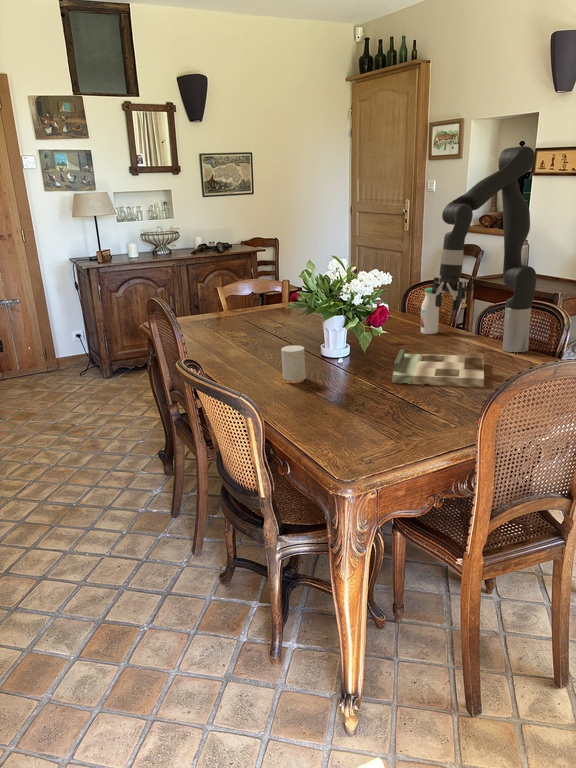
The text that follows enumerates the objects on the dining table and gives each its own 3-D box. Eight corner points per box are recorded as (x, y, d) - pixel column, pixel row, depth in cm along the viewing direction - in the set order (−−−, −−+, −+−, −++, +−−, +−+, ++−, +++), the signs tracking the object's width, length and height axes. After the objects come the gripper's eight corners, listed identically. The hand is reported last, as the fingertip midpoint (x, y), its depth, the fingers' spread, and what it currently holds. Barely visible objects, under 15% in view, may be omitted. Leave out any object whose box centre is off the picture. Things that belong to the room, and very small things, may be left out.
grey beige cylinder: (289, 385, 204) (287, 353, 200) (279, 379, 211) (277, 348, 207) (309, 381, 208) (308, 348, 204) (299, 375, 215) (297, 344, 211)
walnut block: (482, 364, 205) (482, 353, 204) (482, 369, 200) (482, 358, 199) (464, 363, 207) (465, 352, 206) (464, 368, 202) (464, 357, 200)
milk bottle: (440, 331, 263) (441, 287, 257) (434, 335, 257) (436, 290, 251) (424, 329, 267) (425, 286, 261) (418, 333, 261) (418, 289, 255)
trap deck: (483, 363, 215) (484, 348, 213) (483, 387, 192) (484, 370, 190) (401, 361, 224) (401, 346, 222) (392, 383, 201) (392, 366, 199)
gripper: (474, 264, 200) (468, 311, 204) (445, 260, 211) (440, 304, 216) (458, 265, 196) (452, 312, 201) (429, 261, 208) (425, 305, 213)
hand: (446, 308), depth 208 cm, fingers open, 8 cm apart
